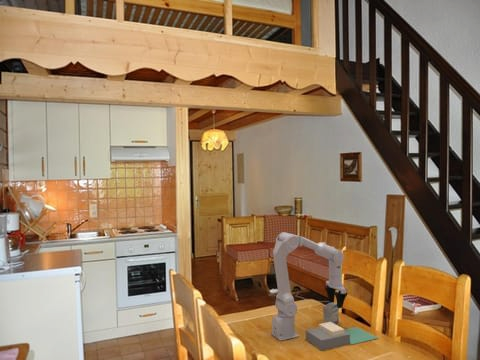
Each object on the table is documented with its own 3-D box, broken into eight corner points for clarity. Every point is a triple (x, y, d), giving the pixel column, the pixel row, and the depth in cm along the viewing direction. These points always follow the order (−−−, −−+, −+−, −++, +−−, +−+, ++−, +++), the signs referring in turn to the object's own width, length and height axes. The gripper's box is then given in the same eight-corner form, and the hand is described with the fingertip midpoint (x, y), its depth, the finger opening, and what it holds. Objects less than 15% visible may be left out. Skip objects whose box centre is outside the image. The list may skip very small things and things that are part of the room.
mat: (351, 345, 149) (351, 344, 149) (331, 333, 161) (331, 332, 161) (378, 338, 154) (378, 338, 154) (357, 327, 166) (357, 327, 166)
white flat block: (332, 336, 148) (332, 331, 148) (319, 328, 156) (319, 324, 156) (344, 334, 150) (344, 329, 150) (330, 326, 158) (330, 321, 158)
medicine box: (332, 326, 168) (332, 307, 168) (323, 324, 170) (322, 306, 171) (339, 321, 174) (338, 303, 174) (330, 319, 177) (329, 301, 177)
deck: (321, 350, 144) (321, 340, 144) (305, 339, 154) (305, 330, 154) (350, 344, 150) (349, 334, 150) (333, 333, 160) (332, 324, 160)
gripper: (351, 278, 162) (352, 309, 162) (335, 271, 176) (335, 299, 176) (337, 279, 160) (337, 310, 160) (321, 272, 174) (322, 300, 174)
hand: (335, 305), depth 168 cm, fingers open, 7 cm apart
